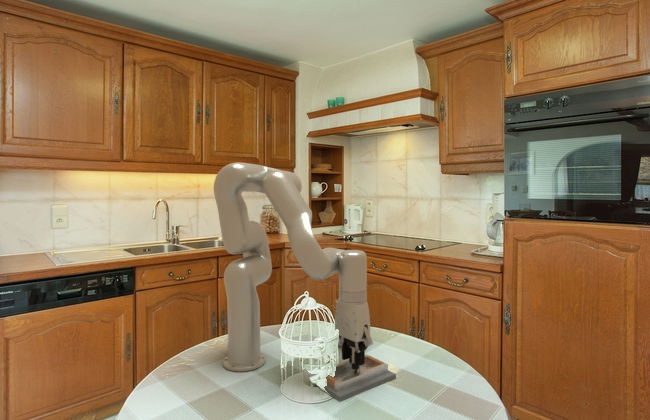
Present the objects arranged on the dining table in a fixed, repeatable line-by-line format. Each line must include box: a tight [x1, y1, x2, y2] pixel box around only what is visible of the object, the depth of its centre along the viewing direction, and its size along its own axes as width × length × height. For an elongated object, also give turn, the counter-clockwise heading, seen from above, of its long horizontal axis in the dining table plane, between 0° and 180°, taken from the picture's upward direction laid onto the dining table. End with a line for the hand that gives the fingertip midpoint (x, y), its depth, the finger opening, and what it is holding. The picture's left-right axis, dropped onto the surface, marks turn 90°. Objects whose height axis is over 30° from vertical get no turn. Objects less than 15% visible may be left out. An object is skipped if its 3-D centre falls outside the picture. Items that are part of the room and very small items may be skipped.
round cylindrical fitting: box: [346, 339, 362, 376], centre depth 108 cm, size 7×5×10 cm
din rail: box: [326, 353, 389, 392], centre depth 108 cm, size 9×18×2 cm, turn 127°
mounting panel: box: [324, 369, 397, 402], centre depth 108 cm, size 13×20×1 cm, turn 127°
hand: (353, 361), depth 108 cm, fingers closed on round cylindrical fitting, 4 cm apart
